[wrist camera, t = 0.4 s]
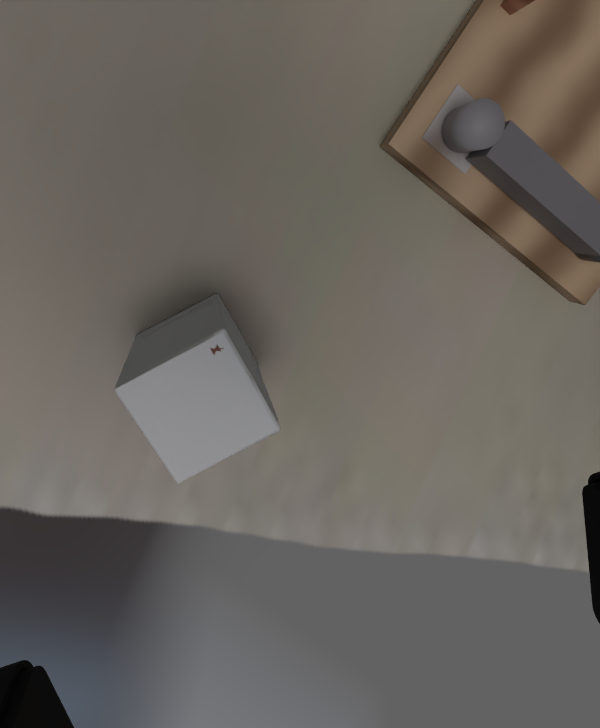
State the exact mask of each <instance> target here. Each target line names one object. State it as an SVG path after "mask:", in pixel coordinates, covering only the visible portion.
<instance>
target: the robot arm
mask: <svg viewBox="0 0 600 728" xmlns="http://www.w3.org/2000/svg"><path fill="white" fill-rule="evenodd" d="M582 495H583V506H584V517H585V528H586V539H587V550H588V561H589V572H590V583H591V594H592V605H593V610H594V613H595V616H596V618H597V619H598V622H599V623H600V472H597V473H594V474H592V475H591V476H590V477H589V480H588V485H586V486H584V488H583V492H582ZM0 728H74V727H73V725H72V723H71V721H70V719H69V717H68V715H67V713H66V711H65V709H64V707H63V705H62V703H61V701H60V699H59V697H58V695H57V693H56V691H55V689H54V687H53V685H52V683H51V681H50V679H49V677H48V675H47V673H46V671H45V670H44V668H43V667H41V666H36V667H33V665H32V664H31V663H30V662H29V661H26V660H22V661H19V662H16V663H13V664H10V665H7V666H4V667H1V668H0Z"/></svg>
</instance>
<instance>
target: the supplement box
mask: <svg viewBox="0 0 600 728" xmlns="http://www.w3.org/2000/svg"><path fill="white" fill-rule="evenodd" d="M114 391H115V393H116V394H117V396H118V397H119V399H120V400H121V402H122V404H123V405H124V406H125V408H126V410H127V411H128V413H129V414H130V416H131V417H132V418H133V420H134V421H135V423H136V424H137V426H138V427H139V429H140V430H141V432H142V433H143V435H144V436H145V438H146V439H147V441H148V442H149V444H150V445H151V447H152V448H153V450H154V451H155V453H156V454H157V455H158V457H159V458H160V460H161V461H162V463H163V464H164V466H165V467H166V469H167V470H168V471H169V473H170V474H171V476H172V477H173V479H174V480H175V482H176V483H177V484H179V483H181V482H183V481H184V480H186V479H188V478H190V477H192V476H194V475H196V474H198V473H199V472H201V471H203V470H205V469H207V468H209V467H211V466H212V465H214V464H216V463H218V462H220V461H222V460H224V459H225V458H227V457H229V456H231V455H233V454H235V453H237V452H239V451H241V450H243V449H245V448H247V447H249V446H251V445H253V444H255V443H257V442H259V441H261V440H263V439H265V438H267V437H269V436H271V435H273V434H275V433H277V432H279V431H280V425H279V422H278V418H277V416H276V413H275V410H274V407H273V405H272V402H271V400H270V397H269V394H268V392H267V389H266V387H265V384H264V382H263V379H262V376H261V373H260V370H259V367H258V365H257V363H256V361H255V359H254V357H253V355H252V354H251V352H250V350H249V348H248V346H247V344H246V342H245V340H244V338H243V336H242V335H241V333H240V331H239V329H238V328H237V326H236V324H235V322H234V321H233V319H232V317H231V315H230V314H229V312H228V310H227V309H226V307H225V305H224V303H223V302H222V300H221V298H220V296H219V295H218V294H217V293H216V294H214V295H212V296H210V297H209V298H207V299H205V300H203V301H201V302H199V303H197V304H195V305H193V306H191V307H190V308H187V309H186V310H184V311H182V312H180V313H178V314H176V315H174V316H172V317H170V318H168V319H166V320H164V321H162V322H161V323H159V324H157V325H155V326H153V327H151V328H149V329H147V330H145V331H143V332H142V333H140V334H138V335H137V336H136V338H135V340H134V343H133V345H132V348H131V350H130V353H129V355H128V358H127V360H126V362H125V364H124V367H123V369H122V372H121V374H120V377H119V379H118V382H117V384H116V386H115V389H114Z"/></svg>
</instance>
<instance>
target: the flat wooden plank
mask: <svg viewBox="0 0 600 728" xmlns="http://www.w3.org/2000/svg"><path fill="white" fill-rule="evenodd" d="M484 98H486V99H491V100H493V101H495V102H496V103H498V105H499V106H500V107H501V109H502V111H503V113H504V117H505V122H506V121H510V120H511V121H512V122H514V123H515V124H516V125H517V126H518V127H519V128H520V129H521V130H522V131H523V132H524V133H525V134H527V135H528V136H529V137H530V138H531V139H532V140H533V141H534V142H535V143H536V144H537V145H538V146H540V147H541V148H542V149H543V150H544V151H545V152H546V153H547V154H548V155H549V156H550V157H552V158H553V159H554V160H555V161H556V162H557V163H558V164H559V165H560V166H561V167H562V168H563V169H565V170H566V171H567V172H568V173H569V174H570V175H571V176H572V177H573V178H574V179H575V180H576V181H578V182H579V183H580V184H581V185H582V186H583V187H584V188H585V189H586V190H587V191H588V192H589V193H591V194H592V195H593V196H594V197H595V198H596V199H597V200H598V201H599V202H600V0H476V2H475V3H474V5H473V6H472V8H471V9H470V11H469V12H468V14H467V15H466V17H465V18H464V20H463V21H462V23H461V24H460V26H459V27H458V29H457V30H456V32H455V33H454V35H453V37H452V38H451V40H450V41H449V43H448V44H447V46H446V47H445V49H444V50H443V52H442V53H441V55H440V56H439V58H438V59H437V61H436V62H435V64H434V65H433V67H432V68H431V70H430V71H429V73H428V74H427V76H426V77H425V79H424V80H423V82H422V83H421V85H420V86H419V88H418V89H417V91H416V93H415V94H414V96H413V97H412V99H411V100H410V102H409V103H408V105H407V106H406V108H405V109H404V111H403V112H402V114H401V115H400V117H399V118H398V120H397V121H396V123H395V124H394V126H393V127H392V129H391V130H390V132H389V133H388V135H387V136H386V138H385V139H384V141H383V142H382V144H381V146H380V147H381V148H382V149H383V150H384V151H386V152H387V153H388V154H389V155H391V156H392V157H393V158H394V159H396V160H397V161H398V162H399V163H400V164H402V165H403V166H404V167H405V168H407V169H408V170H409V171H410V172H412V173H413V174H414V175H415V176H416V177H418V178H419V179H420V180H421V181H423V182H424V183H425V184H426V185H428V186H429V187H430V188H431V189H432V190H434V191H435V192H436V193H437V194H439V195H440V196H441V197H442V198H443V199H445V200H446V201H447V202H448V203H450V204H451V205H452V206H453V207H455V208H456V209H457V210H458V211H459V212H461V213H462V214H463V215H464V216H466V217H467V218H468V219H469V220H471V221H472V222H473V223H474V224H475V225H477V226H478V227H479V228H480V229H482V230H483V231H484V232H485V233H487V234H488V235H489V236H490V237H491V238H493V239H494V240H495V241H496V242H498V243H499V244H500V245H501V246H502V247H504V248H505V249H506V250H507V251H509V252H510V253H511V254H512V255H514V256H515V257H516V258H517V259H518V260H520V261H521V262H522V263H523V264H525V265H526V266H527V267H528V268H530V269H531V270H532V271H533V272H534V273H536V274H537V275H538V276H539V277H541V278H542V279H543V280H544V281H546V282H547V283H548V284H549V285H550V286H552V287H553V288H554V289H555V290H557V291H558V292H559V293H560V294H562V295H563V296H564V297H565V298H566V299H568V300H569V301H571V302H575V303H578V304H582V305H586V303H587V302H588V301H589V299H590V298H591V297H592V296H593V294H594V293H595V292H596V290H597V289H598V288H599V286H600V263H599V262H592V261H585V260H582V259H580V258H579V257H578V256H577V255H576V253H575V252H574V251H573V250H571V249H570V248H569V247H568V246H567V245H566V244H564V243H563V242H562V241H561V240H560V239H559V238H557V237H556V236H555V235H554V234H553V233H552V232H550V231H549V230H548V229H547V228H546V227H545V226H543V225H542V224H541V223H540V222H539V221H538V220H536V219H535V218H534V217H533V216H532V215H531V214H530V213H528V212H527V211H526V210H525V209H524V208H523V207H521V206H520V205H519V204H518V203H517V202H516V201H514V200H513V199H512V198H511V197H510V196H509V195H507V194H506V193H505V192H504V191H503V190H502V189H500V188H499V187H498V186H497V185H496V184H495V183H493V182H492V181H491V180H490V179H489V178H488V177H486V176H485V175H484V174H483V173H482V172H481V171H479V170H478V169H477V168H476V167H475V166H474V165H472V164H471V163H470V162H469V161H468V160H467V159H466V158H467V157H468V155H469V154H470V153H471V152H466V153H457V152H454V151H452V150H451V149H450V148H448V146H447V145H446V143H445V141H444V139H443V134H442V129H443V123H444V121H445V118H446V117H447V115H448V114H449V113H450V112H451V111H452V110H453V109H455V108H457V107H460V106H462V105H465V104H468V103H470V102H473V101H476V100H479V99H484Z"/></svg>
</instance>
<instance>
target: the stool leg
mask: <svg viewBox="0 0 600 728" xmlns="http://www.w3.org/2000/svg"><path fill="white" fill-rule="evenodd" d="M442 134H443V139H444V141H445V143H446V145H447V146H448V148H450V149H451V150H452V151H454V152H457V153H466V152H471V153H470V154H469V155H468V157H467V158H466V159H467V160H468V161H469V162H470V163H471V164H472V165H474V166H475V167H476V168H477V169H478V170H479V171H481V172H482V173H483V174H484V175H485V176H486V177H488V178H489V179H490V180H491V181H492V182H493V183H495V184H496V185H497V186H498V187H499V188H500V189H502V190H503V191H504V192H505V193H506V194H507V195H509V196H510V197H511V198H512V199H513V200H514V201H516V202H517V203H518V204H519V205H520V206H521V207H523V208H524V209H525V210H526V211H527V212H528V213H530V214H531V215H532V216H533V217H534V218H535V219H536V220H538V221H539V222H540V223H541V224H542V225H543V226H545V227H546V228H547V229H548V230H549V231H550V232H552V233H553V234H554V235H555V236H556V237H557V238H559V239H560V240H561V241H562V242H563V243H564V244H566V245H567V246H568V247H569V248H570V249H571V250H573V251H574V252H575V253H576V255H577V256H578V257H579V258H580V259H582V260H585V261H592V262H599V263H600V202H599V201H598V200H597V199H596V198H595V197H594V196H593V195H592V194H591V193H589V192H588V191H587V190H586V189H585V188H584V187H583V186H582V185H581V184H580V183H579V182H578V181H576V180H575V179H574V178H573V177H572V176H571V175H570V174H569V173H568V172H567V171H566V170H565V169H563V168H562V167H561V166H560V165H559V164H558V163H557V162H556V161H555V160H554V159H553V158H552V157H550V156H549V155H548V154H547V153H546V152H545V151H544V150H543V149H542V148H541V147H540V146H538V145H537V144H536V143H535V142H534V141H533V140H532V139H531V138H530V137H529V136H528V135H527V134H525V133H524V132H523V131H522V130H521V129H520V128H519V127H518V126H517V125H516V124H515V123H514V122H512V121H511V120H510V121H506V122H505V117H504V113H503V111H502V109H501V107H500V106H499V105H498V103H496V102H495V101H493V100H491V99H486V98H484V99H479V100H476V101H473V102H470V103H468V104H465V105H462V106H460V107H457V108H455V109H453V110H452V111H451V112H450V113H449V114H448V115H447V117H446V118H445V121H444V123H443V129H442Z"/></svg>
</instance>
